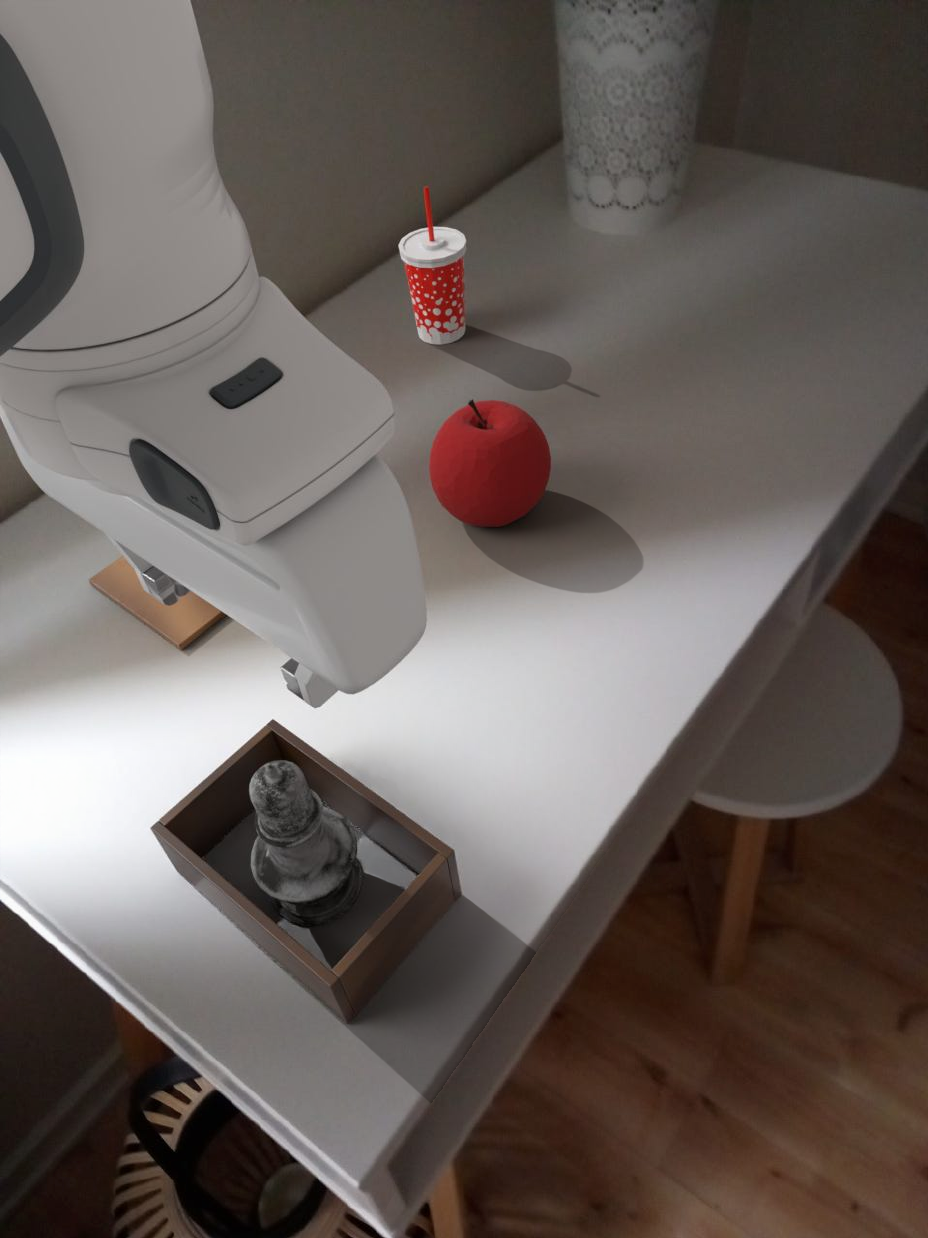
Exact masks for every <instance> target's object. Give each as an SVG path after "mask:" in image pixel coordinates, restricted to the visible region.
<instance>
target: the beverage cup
mask: <svg viewBox="0 0 928 1238" xmlns="http://www.w3.org/2000/svg"><path fill="white" fill-rule="evenodd" d="M430 193H431V191H430V185H423V196H424V205H425V213H426V221H427V222H426V223H427V227H424V228H419V229H416V230H413V231H411V232H409V233H408V234H406V235H405V236H403V237H402V238H401V239H400V241H399V243H398V246H397V247H398V250H399V255H400V259H401V260H402V261H403V263H404V268H405V273H406V279H407V283H408V288H409V293H410V299H411V303H412V309H413V314H414V319H415V324H416V329H417V334H418V337H419V339H420V340H422V342H424V343H427V344H429V345H437V346H438V345H439V346H440V345H441V346H442V345H447V344H448V345H449V344H451V343H454V342H457V341H458V340H459V339H462V337H463V336H464V335H465V332H466V289H465V288H466V287H465V285H466V284H465V283H466V282H465V254H466V251H467V239H466V236H465V234H464V233H462V232H461V231H460V230H458V229H455V228H451V227H447V226H434V221H433V220H434V219H433V211H432V204H431V203H432V202H431V194H430Z"/></svg>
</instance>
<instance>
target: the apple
mask: <svg viewBox="0 0 928 1238" xmlns="http://www.w3.org/2000/svg"><path fill="white" fill-rule="evenodd" d="M551 456H552V455H551V450H550V444H549V442H548V440H547V437H546V435H545V433H544V431H543V429H542V428H541V426H540V425H539V424H538V423H537V422H536V420H535V419H534V417H532V416H531V415H530V413H528V412H527V411H526V410H524V409H522V408H521V407H519V406H517V405H515V404H513V403H510V402H507V401H502V400H495V399H489V400H488V399H487V400H479V401H474V399H473V398H472V399H470V400H468V401H467V405H465V406H463V407H461V408H460V409H457V410H456V411H455V412H454V413H452V414H451V415H450V416H449V417H448V418H446V420H444V422H443V424H442V425H441V426H440V428H439V429H438V430H437V433H436V435H435V437H434V439H433V442H432V445H431V449H430V454H429V465H428V470H429V471H428V472H429V480H430V483H431V488H432V490H433V492H434V495H435V496H436V499H437V500H438V502H439V503H440V505H441V507H443V508H444V509H445V511H447V512H448V513H449V514H450V515H451V516H452V517H454V518H455V519H456V520H458V521H459V522H462V523H464V524H466V525H470V526H475V527H481V528H482V527H490V528H491V527H492V528H493V527H495V528H496V527H498V528H499V527H500V528H501V527H505V526H506V525H509V524H511V523H513V522H515V521H517V520H519V519H521V518H522V517H524V516H525V515H527V514H528V513H529V512H530V511H531V510H532V509H533V508H534V507H535V506H536V505H537V504H538V502H540V499H541V498H542V496H543V495H544V493H545V490H546V489H547V486H548V483H549V479H550V475H551V469H552V457H551Z"/></svg>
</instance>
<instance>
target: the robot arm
mask: <svg viewBox="0 0 928 1238" xmlns="http://www.w3.org/2000/svg"><path fill="white" fill-rule="evenodd" d="M194 12H195V11H194V9H193V6H192V1H191V0H0V420H1V421H2V424H3V427H4V428H5V431H6V433H7V435H8V437H9V440H10V442H11V444H12V446H13V448H14V451H15V452H16V455H17V457H18V459H19V461H20V463H21V465H22V466H23V468H24V469H25V470H26V472H27V474H28V476H30V478H31V480H33V481H34V483H35V484H36V485H37V487H39V489H40V490H41V491H42V492H43V493H45V495H47V497H49V498H51V499H53V500H54V501H56V502H58V503H59V504H60V505H62V506H63V507H65V508H66V509H67V510H69V511H71V512H72V513H74V514H75V515H77V516H78V517H80V518H81V519H83V520H85V521H86V522H87V523H89V524H90V525H92V526H93V527H95V528H96V529H98V530H99V531H101V532H102V533H103V534H104V535H105V536H106V537H107V538H108V539H109V541H110V542H111V543H112V545H114V547H115V548H116V549H117V551H118V552H119V553H120V554H121V556H124V558H125V559H126V560H127V561H128V562H129V564H130V565H131V566H132V567H133V568H134V569H135V572H136V574H137V576H138V578H139V580H140V582H141V584H142V587H143V589H144V590H145V591H146V592H147V593H149V594H150V595H151V596H153V597H154V598H156V599H157V600H159V601H160V602H162V603H164V604H165V605H168V606H170V605H173V604H175V603H176V602H178V601H179V598H180V596H184V595H187V594H188V593H189V592H191V591H192V592H194V593H195V594H197V595H198V596H200V597H201V598H203V599H204V600H205V601H207V602H208V603H210V604H211V605H213V606H214V607H216V608H217V609H219V610H220V611H222V612H223V613H225V614H226V615H225V616H227V617H230V618H231V619H232V620H234V621H235V622H237V623H238V624H240V625H242V626H243V627H244V628H245V629H247V630H249V631H251V632H252V633H253V634H255V635H256V636H257V637H259V638H260V639H262V640H263V641H265V642H267V643H268V644H269V645H271V646H272V647H274V648H276V649H277V650H279V651H280V652H282V653H283V654H284V655H286V656H288V657H289V659H288V660H287V661H286V662H284V664H282V666H280V670H281V674H282V677H283V679H284V680H285V681H286V689H287V690H288V691H289V692H291V693H292V694H293V695H295V696H296V697H298V699H300V700H302V701H304V703H306V704H307V705H308V706H309V707H312V708H314V709H317V708H321V707H322V706H323V705H324V704H325V703H327V702H328V701H329V700H330V699H331V698H332V697H333V696H334V695H335V694H336V693H338V692H341V693H344V694H346V695H356V694H359V693H361V692H363V691H366V690H367V689H368V688H370V687H372V686H373V685H375V684H376V683H377V682H379V681H380V680H382V679H383V678H384V677H385V676H386V675H388V674H389V673H390V672H391V671H393V670H394V669H395V668H396V667H397V666H398V665H399V664H400V663H401V662H402V661H403V660H404V659H405V658H406V657H407V656H408V655H410V653H411V652H412V651H413V650H414V649H415V648H416V646H417V645H418V644H419V642H421V640H422V638H423V636H424V634H425V632H426V628H427V625H428V624H427V623H428V608H427V599H426V590H425V583H424V582H425V581H424V576H423V568H422V563H421V557H420V552H419V547H418V542H417V537H416V533H415V528H414V527H415V526H414V523H413V518H412V514H411V511H410V508H409V504H408V502H407V498H406V496H405V494H404V491H403V490H402V487H401V485H400V483H399V481H398V479H397V478H396V476H395V474H394V473H393V471H392V470H391V468H390V467H389V466H388V464H387V463H386V461H384V460H383V459H382V458H381V457H380V456H379V455H378V454H377V453H378V452H380V451H381V450H382V449H383V448H384V447H385V446H386V445H387V444H388V443H389V442H391V440H392V439H393V438H394V437H395V435H396V430H397V429H396V425H397V424H396V414H395V409H394V404H393V401H392V398H391V396H390V393H389V392H388V390H387V389H386V387H385V386H384V385H383V384H382V382H381V381H380V380H379V379H378V378H376V377H375V375H373V374H372V373H371V372H370V371H368V369H366V368H365V367H363V366H362V365H361V364H360V363H359V362H357V360H355V359H353V358H352V357H351V356H349V355H348V354H347V353H345V352H344V351H343V350H342V349H341V348H339V346H337V345H336V344H334V343H333V342H332V341H331V340H330V339H329V338H327V337H326V336H325V335H324V333H322V332H321V331H319V330H318V328H316V327H315V326H314V325H313V324H312V323H311V322H310V321H309V320H308V319H306V317H305V316H304V315H303V314H302V313H301V312H300V311H299V310H298V309H297V308H296V307H295V306H294V304H293V303H292V302H291V301H290V300H289V299H288V297H287V296H286V294H284V293H283V291H282V290H281V289H280V288H279V287H278V286H277V285H276V284H275V283H274V282H273V281H271V280H270V279H269V278H267V277H266V276H259V271H258V267H257V263H256V260H255V256H254V252H253V251H254V250H253V248H252V243H251V239H250V235H249V231H248V229H247V226H246V224H245V221H244V219H243V216H242V215H241V213H240V211H239V209H238V207H237V206H236V204H235V202H234V201H233V199H232V198H231V196H230V194H229V192H228V191H227V188H226V186H225V184H224V181H223V178H222V175H221V173H220V171H219V166H218V162H217V159H216V152H215V143H214V109H215V102H214V101H215V100H214V90H213V86H212V82H211V77H210V74H209V68H208V65H207V64H208V63H207V61H206V56H205V52H204V48H203V43H202V39H201V35H200V31H199V28H198V24H197V20H196V16H195V13H194Z"/></svg>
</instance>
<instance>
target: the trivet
mask: <svg viewBox="0 0 928 1238" xmlns="http://www.w3.org/2000/svg"><path fill="white" fill-rule="evenodd" d="M88 583H89V584H90V586H91V587H93V588H94V589H95V590H97V591H98V592H100V593H101V594H102V595H103V596H105V597H106V598H108V599H109V600H110V601H112V602H114V603H115V604H116V605H118V606H119V607H120V608H122V609H123V610H125V611H126V612H127V613H129V614H130V615H132V616H133V617H134V618H136V619H137V620H138V621H140V622H141V623H143V624H144V625H145V626H147V627H148V628H150V629H151V630H152V631H154V632H155V633H157V634H158V635H159V636H160V637H162V638H163V639H164V640H165V641H167V642H168V643H170V644H171V645H173V646H175V647H176V648H177V649H178V650H180V651H183V650H184V649H185V648H186V647H187V646H189V645H190V644H191V643H193V642H194V641H195V640H196V639H198V638H199V637H200V636H201V635H203V634H204V633H206V631H207V630H209V629H210V628H212V627H213V626H214V625H216V623H217V622H219V621H220V620H222V619H223V618H224V617H225V616H227V615H226V614H225V613H223V612H222V611H220V610H219V609H217V608H216V607H214V606H213V605H211V604H210V603H208V602H207V601H205V600H204V599H203V598H201V597H200V596H198V595H197V594H195V593H194V592H192V591H191V592H189V593H188V594H187V595H184V596H180V598H179V601H178V602H176V603H175V604H173V605H170V606H168V605H165V604H164V603H162V602H160V601H159V600H157V599H156V598H154V597H153V596H151V595H150V594H149V593H147V592H146V591H145V590H144V589H143V587H142V584H141V582H140V580H139V578H138V576H137V574H136V572H135V569H134V568H133V567H132V566H131V565H130V564H129V562H128V561H127V560H126V559H125V558H124V556H123V555H121V556H120V557H118V558H117V559H116V560H114V561H113V562H111V563H110V564H108V565H107V566H106V567H104V568H103V569H101V570H100V571H98V572H97V573H96V574H94V575H92V577H90V578H89V579H88Z"/></svg>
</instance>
